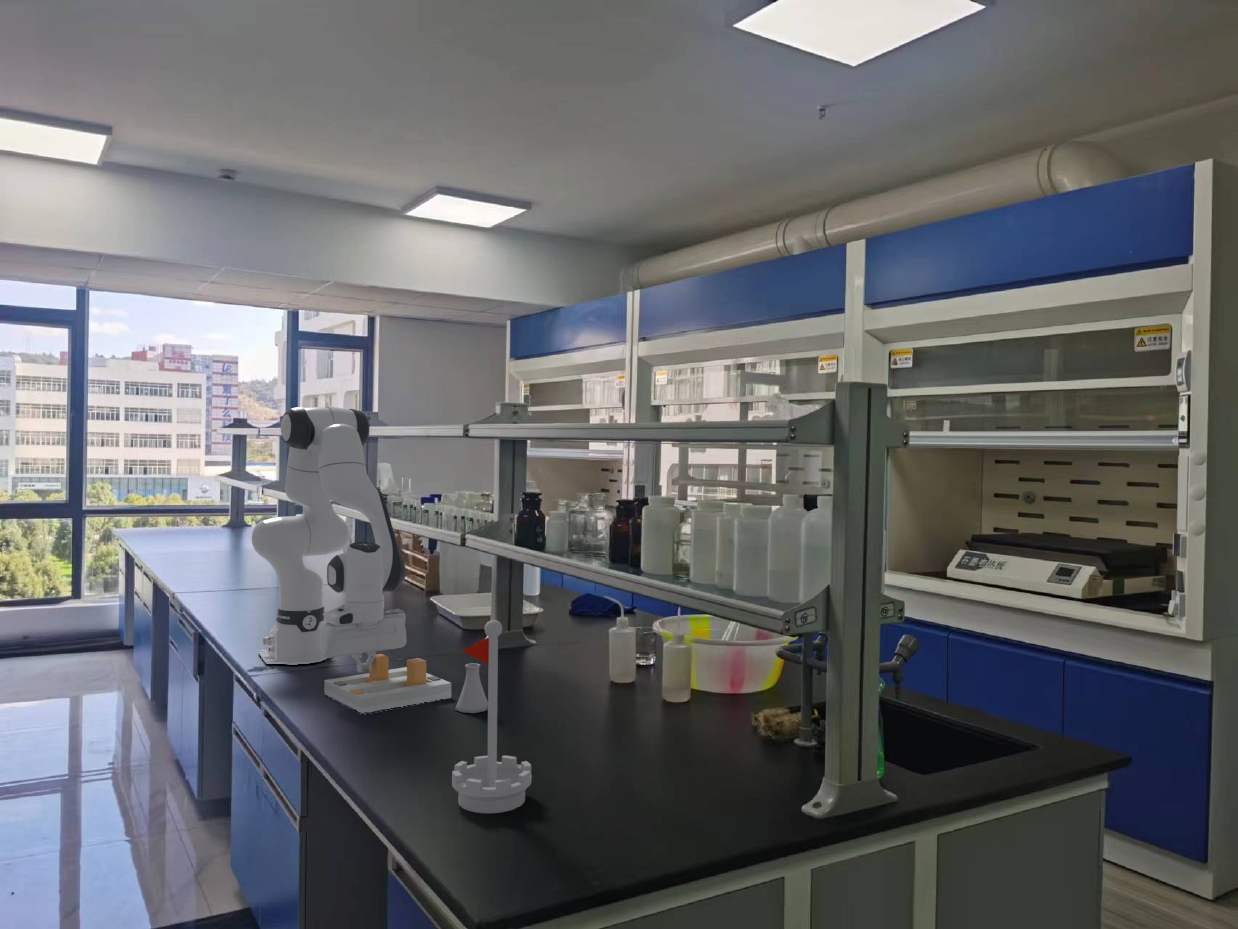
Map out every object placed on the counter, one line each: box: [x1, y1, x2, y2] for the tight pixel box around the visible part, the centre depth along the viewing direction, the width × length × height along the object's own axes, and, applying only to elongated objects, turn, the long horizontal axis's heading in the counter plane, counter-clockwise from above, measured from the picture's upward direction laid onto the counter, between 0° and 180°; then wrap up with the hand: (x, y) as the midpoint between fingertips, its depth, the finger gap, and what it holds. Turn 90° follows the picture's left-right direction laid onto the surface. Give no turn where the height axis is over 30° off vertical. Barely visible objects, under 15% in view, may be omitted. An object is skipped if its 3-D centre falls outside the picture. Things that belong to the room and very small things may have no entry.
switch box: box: [323, 666, 452, 713], centre depth 215 cm, size 20×22×4 cm
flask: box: [454, 662, 488, 714], centre depth 205 cm, size 7×7×10 cm
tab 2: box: [405, 657, 427, 687], centre depth 214 cm, size 4×4×7 cm
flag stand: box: [451, 619, 532, 814], centre depth 153 cm, size 13×13×30 cm
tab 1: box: [367, 653, 390, 682], centre depth 218 cm, size 4×4×7 cm
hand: (364, 671), depth 216 cm, fingers closed
